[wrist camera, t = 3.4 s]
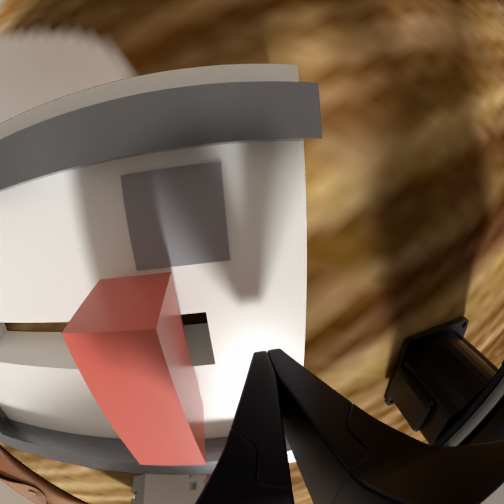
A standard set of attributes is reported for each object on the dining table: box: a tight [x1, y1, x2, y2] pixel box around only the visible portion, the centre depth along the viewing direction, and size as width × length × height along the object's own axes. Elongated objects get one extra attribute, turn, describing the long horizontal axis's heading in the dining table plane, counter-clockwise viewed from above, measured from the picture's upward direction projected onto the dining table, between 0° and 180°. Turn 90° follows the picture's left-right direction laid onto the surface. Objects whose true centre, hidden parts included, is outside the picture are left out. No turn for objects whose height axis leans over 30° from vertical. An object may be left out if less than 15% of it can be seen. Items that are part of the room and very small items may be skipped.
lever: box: [62, 272, 206, 466], centre depth 9 cm, size 2×6×6 cm, turn 4°
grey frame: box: [0, 81, 322, 475], centre depth 8 cm, size 20×16×2 cm
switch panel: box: [0, 64, 307, 439], centre depth 10 cm, size 20×18×3 cm
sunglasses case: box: [0, 445, 88, 504], centre depth 17 cm, size 18×7×7 cm
